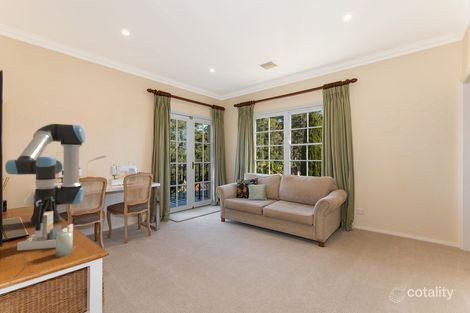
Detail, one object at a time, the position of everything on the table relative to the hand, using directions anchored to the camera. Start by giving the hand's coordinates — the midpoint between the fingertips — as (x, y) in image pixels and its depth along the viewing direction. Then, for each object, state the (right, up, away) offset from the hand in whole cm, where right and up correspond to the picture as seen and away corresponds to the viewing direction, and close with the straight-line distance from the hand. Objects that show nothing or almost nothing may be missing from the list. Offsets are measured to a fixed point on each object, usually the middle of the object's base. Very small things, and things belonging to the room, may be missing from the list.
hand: (44, 233), depth 111 cm
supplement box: (0, -3, 0) cm, 3 cm away
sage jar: (+17, -6, -10) cm, 21 cm away
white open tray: (+1, -5, 0) cm, 6 cm away
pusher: (+7, -4, +2) cm, 8 cm away
